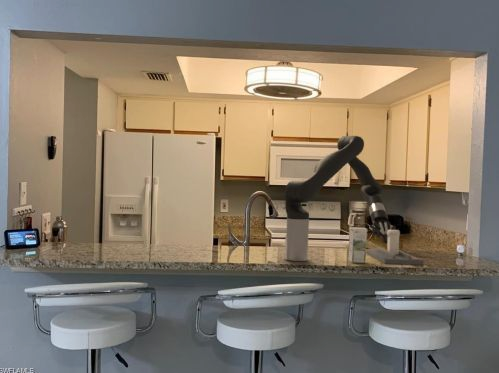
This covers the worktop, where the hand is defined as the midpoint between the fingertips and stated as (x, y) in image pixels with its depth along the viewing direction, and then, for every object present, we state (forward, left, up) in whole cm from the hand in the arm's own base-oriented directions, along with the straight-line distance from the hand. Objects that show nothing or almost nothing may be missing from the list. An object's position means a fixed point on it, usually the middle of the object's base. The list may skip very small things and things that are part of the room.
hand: (386, 242), depth 188 cm
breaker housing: (0, -7, -6) cm, 10 cm away
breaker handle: (0, -7, -4) cm, 8 cm away
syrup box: (-19, -17, -6) cm, 27 cm away
